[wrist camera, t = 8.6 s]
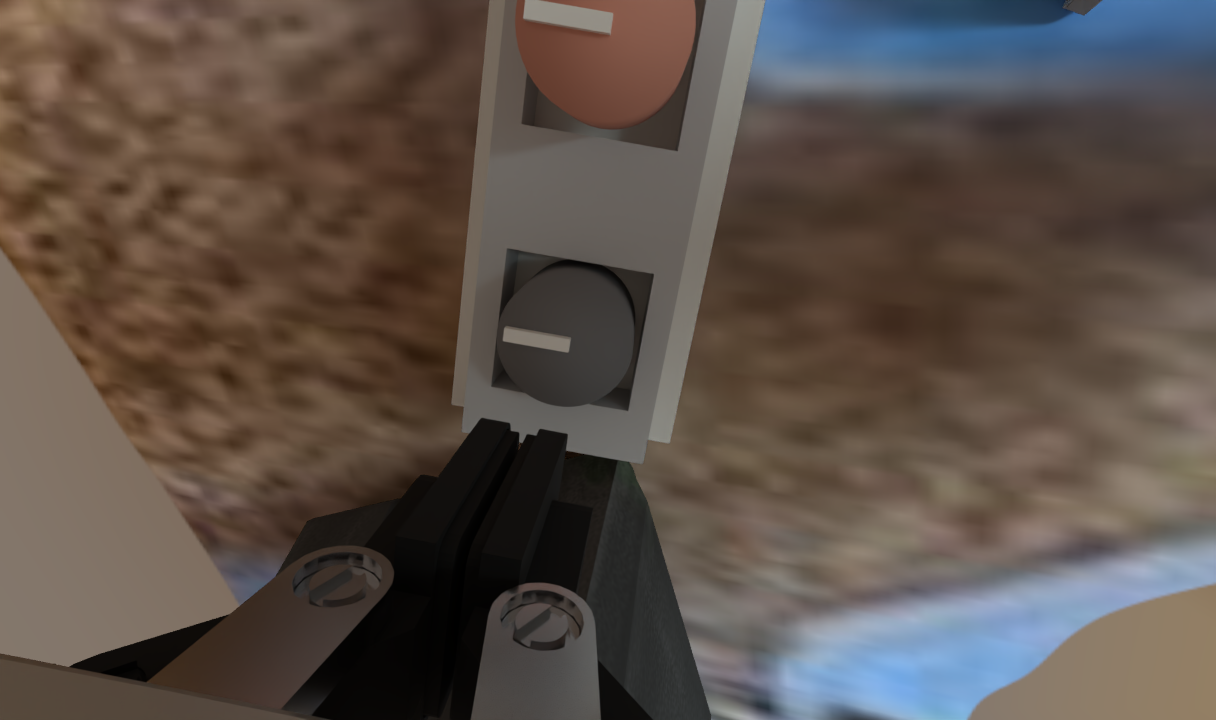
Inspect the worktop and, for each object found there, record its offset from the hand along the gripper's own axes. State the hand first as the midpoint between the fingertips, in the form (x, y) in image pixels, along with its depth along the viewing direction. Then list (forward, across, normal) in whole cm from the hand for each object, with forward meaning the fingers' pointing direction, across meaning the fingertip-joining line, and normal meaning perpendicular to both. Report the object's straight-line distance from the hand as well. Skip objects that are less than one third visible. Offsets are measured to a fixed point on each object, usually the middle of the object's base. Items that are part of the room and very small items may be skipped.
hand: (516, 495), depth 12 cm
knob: (+15, +1, 0) cm, 15 cm away
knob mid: (+13, +1, -10) cm, 16 cm away
